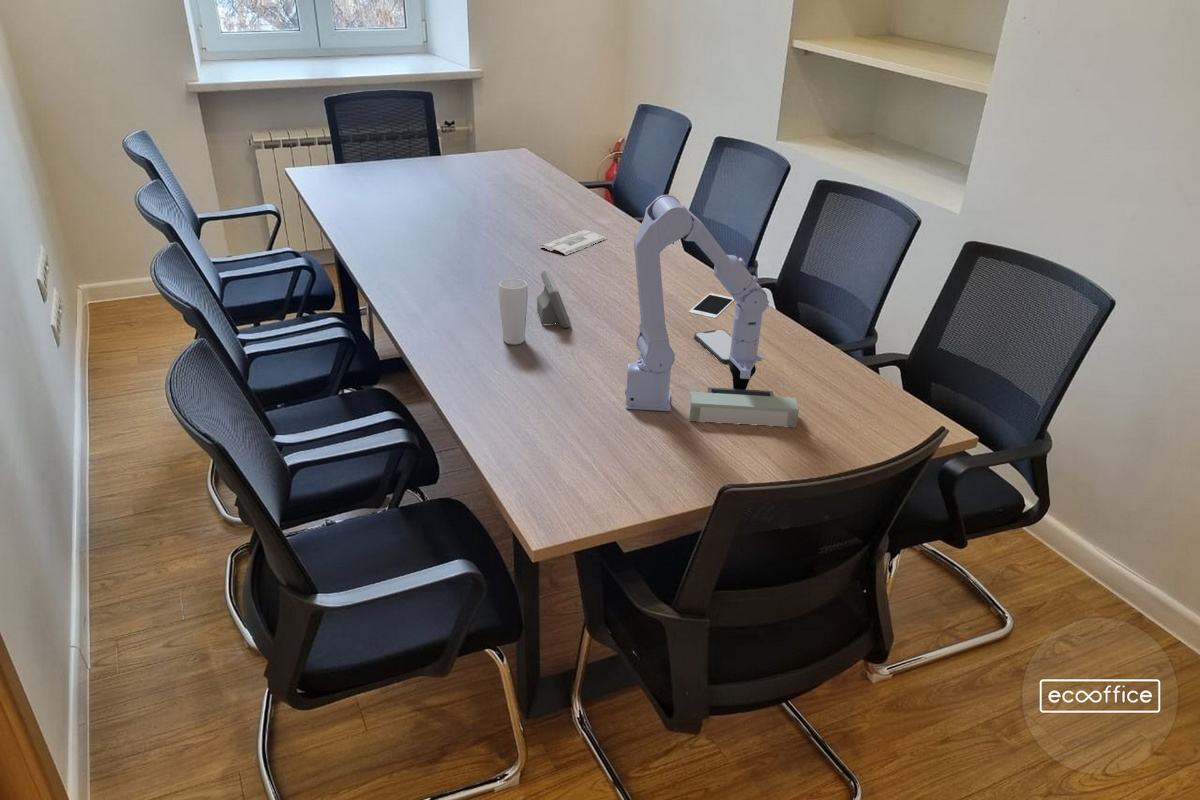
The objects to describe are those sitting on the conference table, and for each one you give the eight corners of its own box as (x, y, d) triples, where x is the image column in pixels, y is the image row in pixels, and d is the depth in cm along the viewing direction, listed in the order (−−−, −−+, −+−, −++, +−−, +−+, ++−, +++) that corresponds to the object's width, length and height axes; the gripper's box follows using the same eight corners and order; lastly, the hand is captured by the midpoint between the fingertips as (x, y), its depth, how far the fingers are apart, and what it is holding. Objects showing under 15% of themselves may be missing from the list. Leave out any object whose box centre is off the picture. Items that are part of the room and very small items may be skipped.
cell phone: (687, 313, 233) (688, 311, 233) (709, 294, 246) (709, 292, 246) (715, 319, 230) (715, 317, 230) (735, 300, 243) (736, 298, 242)
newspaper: (577, 233, 291) (578, 226, 290) (606, 245, 286) (607, 237, 284) (533, 249, 275) (533, 241, 274) (563, 262, 269) (563, 254, 268)
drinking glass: (516, 333, 218) (515, 276, 210) (533, 341, 213) (533, 284, 206) (494, 340, 213) (492, 282, 206) (512, 349, 209) (511, 291, 202)
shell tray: (708, 415, 184) (709, 405, 183) (706, 397, 191) (708, 387, 190) (775, 419, 183) (776, 408, 182) (771, 401, 190) (772, 391, 189)
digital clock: (570, 331, 220) (571, 291, 215) (534, 330, 220) (534, 290, 215) (571, 306, 234) (572, 268, 229) (538, 305, 234) (538, 267, 229)
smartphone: (754, 361, 209) (722, 334, 222) (755, 355, 208) (723, 328, 221) (722, 366, 206) (691, 338, 219) (722, 360, 205) (692, 332, 218)
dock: (689, 421, 182) (691, 403, 179) (688, 406, 187) (690, 388, 185) (795, 427, 181) (798, 409, 179) (791, 412, 186) (794, 394, 184)
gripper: (768, 352, 178) (760, 410, 185) (761, 324, 191) (754, 379, 197) (733, 350, 178) (726, 408, 185) (728, 322, 191) (722, 377, 198)
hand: (738, 393), depth 191 cm, fingers closed
